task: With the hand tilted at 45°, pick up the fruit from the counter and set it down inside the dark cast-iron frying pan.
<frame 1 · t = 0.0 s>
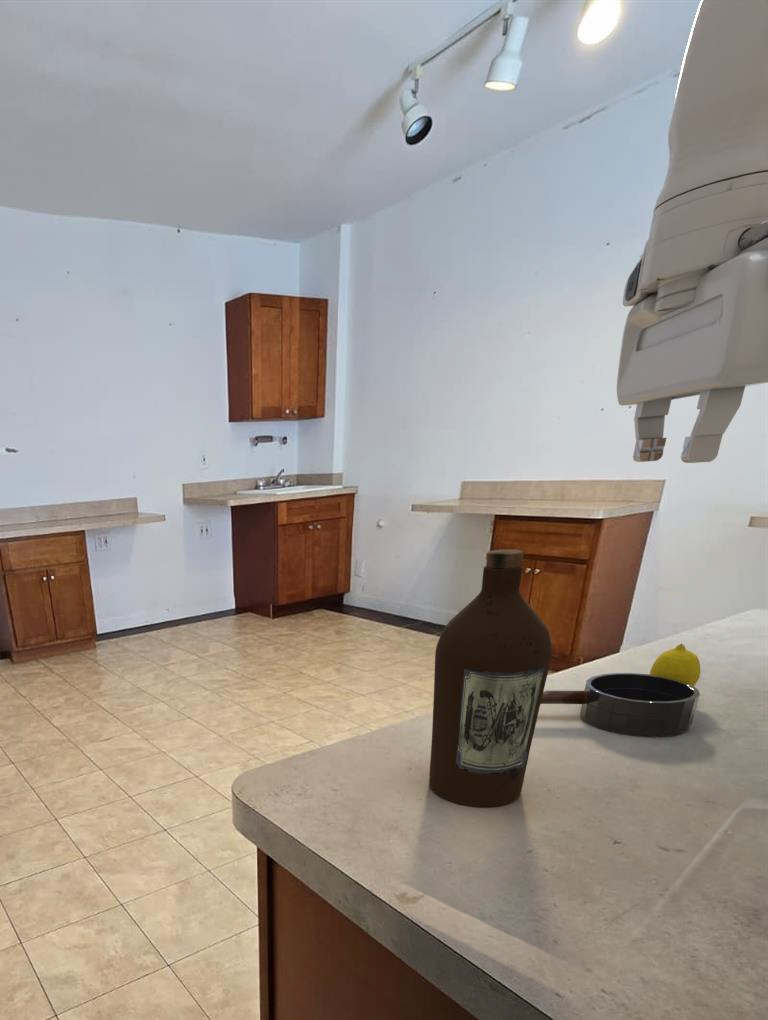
hand: (669, 461, 51), 32 cm above the countertop, tool pointing down, fingers open, 8 cm apart
pan handle: (545, 697, 86), point 2 cm above the countertop
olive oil: (473, 789, 70), on the countertop
pan: (632, 719, 84), on the countertop
fruit: (667, 700, 90), on the countertop
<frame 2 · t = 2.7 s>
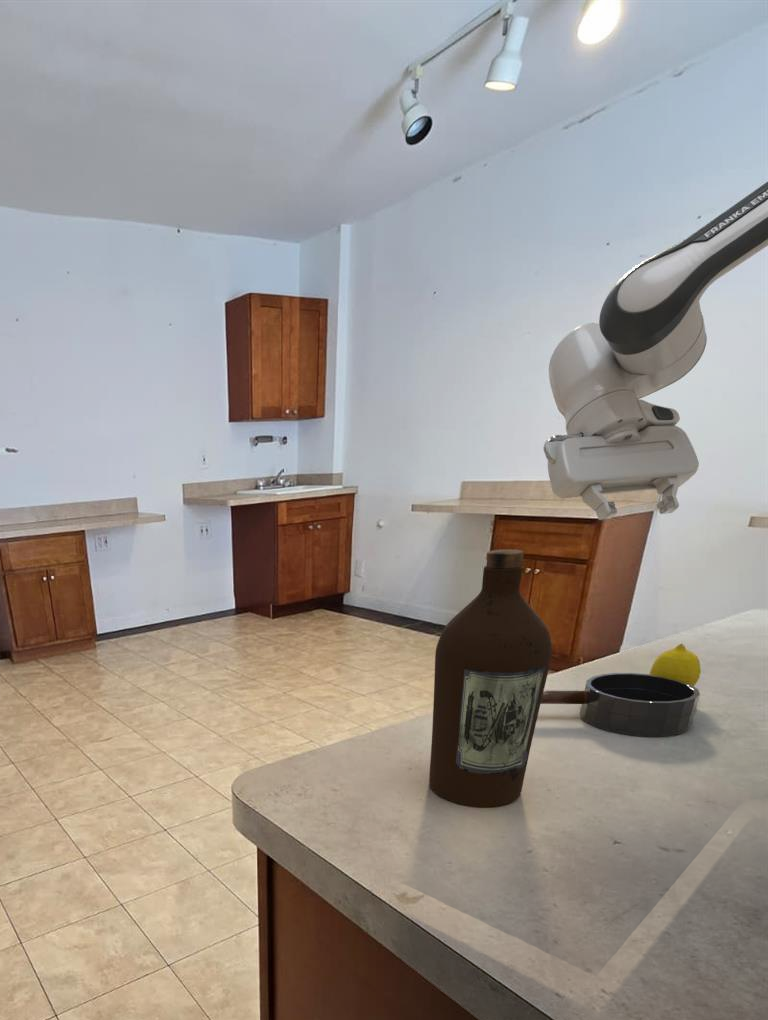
hand: (639, 514, 88), 24 cm above the countertop, tool tilted 40°, fingers open, 8 cm apart
nothing on the countertop moved.
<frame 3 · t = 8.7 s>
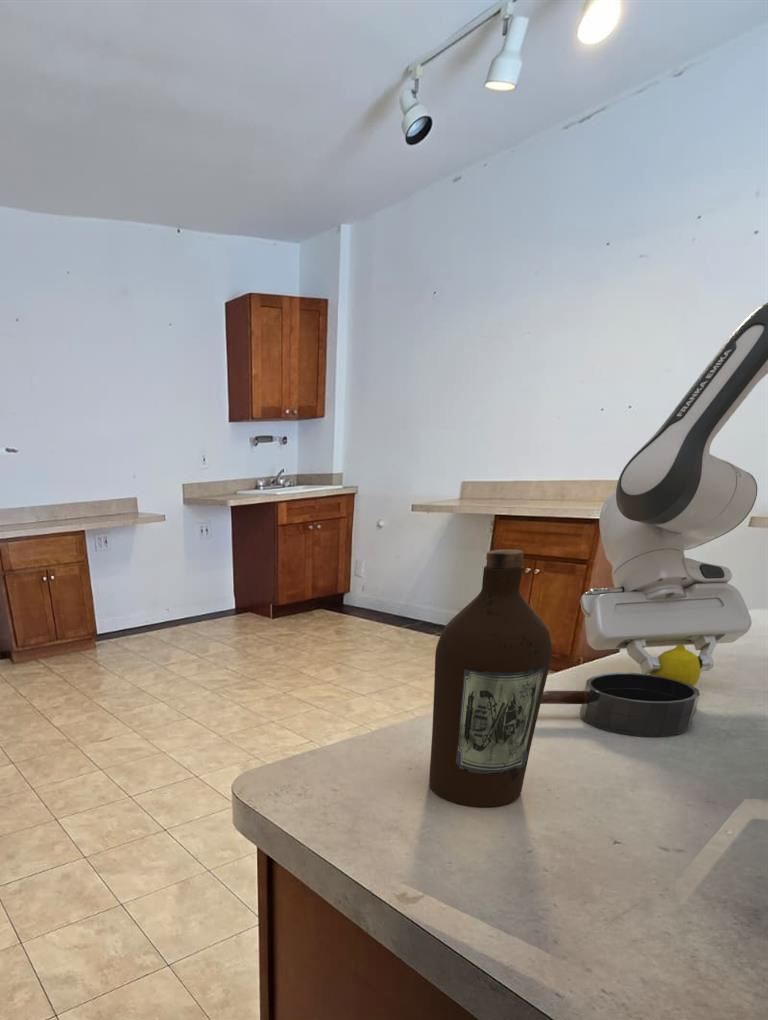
hand: (678, 670, 87), 4 cm above the countertop, tool tilted 45°, fingers closed on fruit, 5 cm apart
fruit: (667, 700, 90), on the countertop, touching gripper
everything else where it was.
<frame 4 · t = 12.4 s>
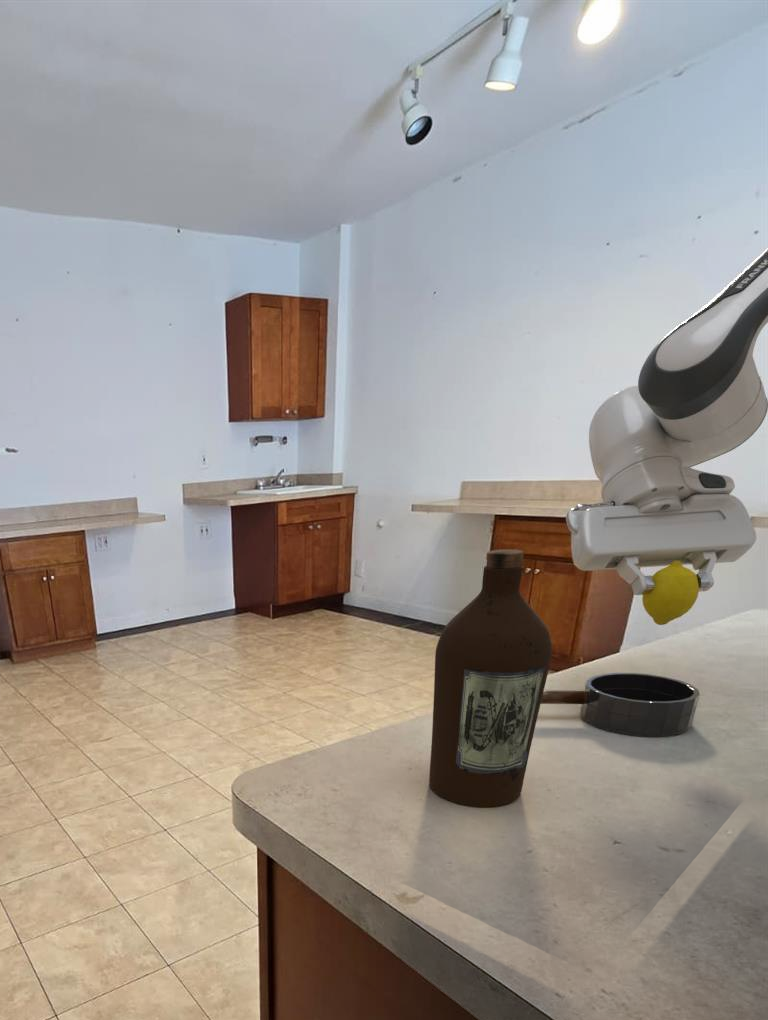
hand: (674, 590, 78), 16 cm above the countertop, tool tilted 45°, fingers closed on fruit, 5 cm apart
fruit: (661, 626, 81), point 12 cm above the countertop, touching gripper
everything else where it was.
when the fingers open (5 cm above the countertop, at t = 16.2 s): fruit stays where it is, resting on pan.
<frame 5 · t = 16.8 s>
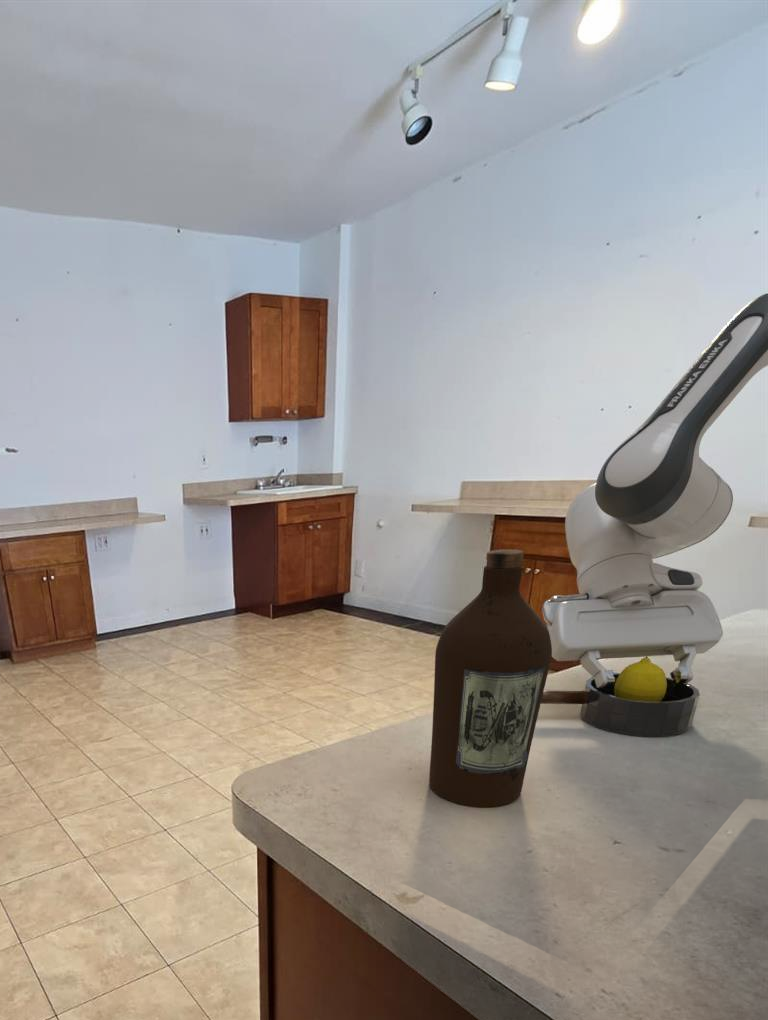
hand: (644, 683, 81), 5 cm above the countertop, tool tilted 45°, fingers open, 8 cm apart
fruit: (632, 717, 84), resting on pan
everything else where it was.
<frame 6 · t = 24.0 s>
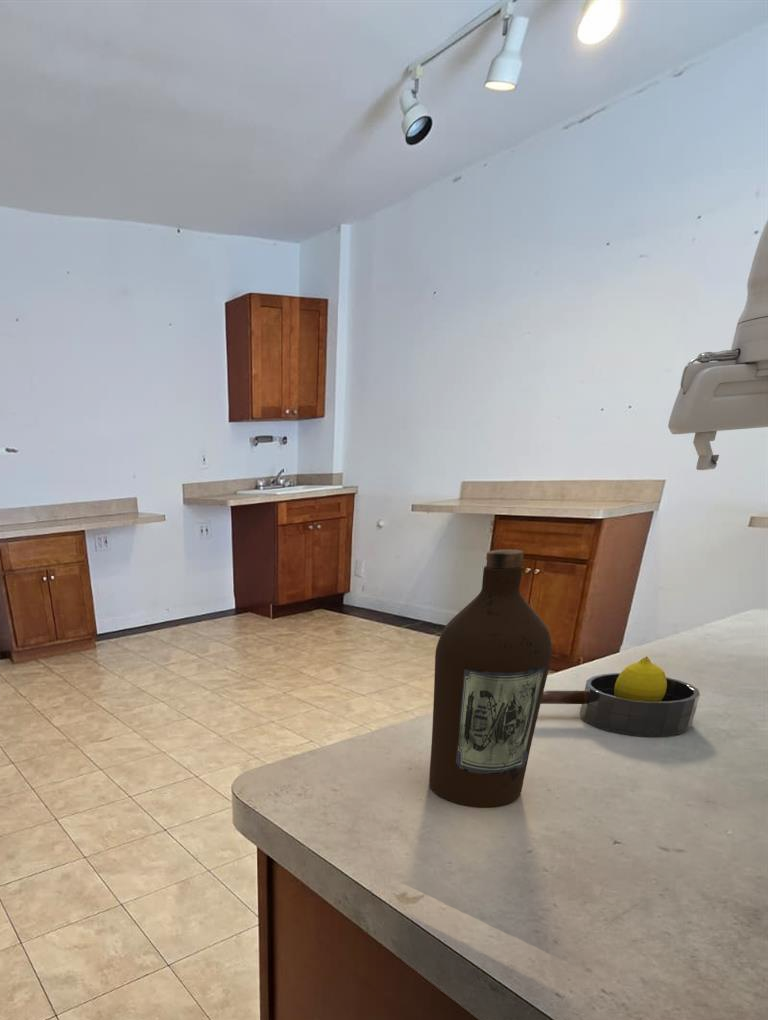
hand: (742, 466, 86), 29 cm above the countertop, tool pointing down, fingers open, 8 cm apart
nothing on the countertop moved.
at the end: fruit inside the target area in the pan (0.1 cm from its centre), point 0.3 cm above the pan's base; the gripper is holding nothing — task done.
